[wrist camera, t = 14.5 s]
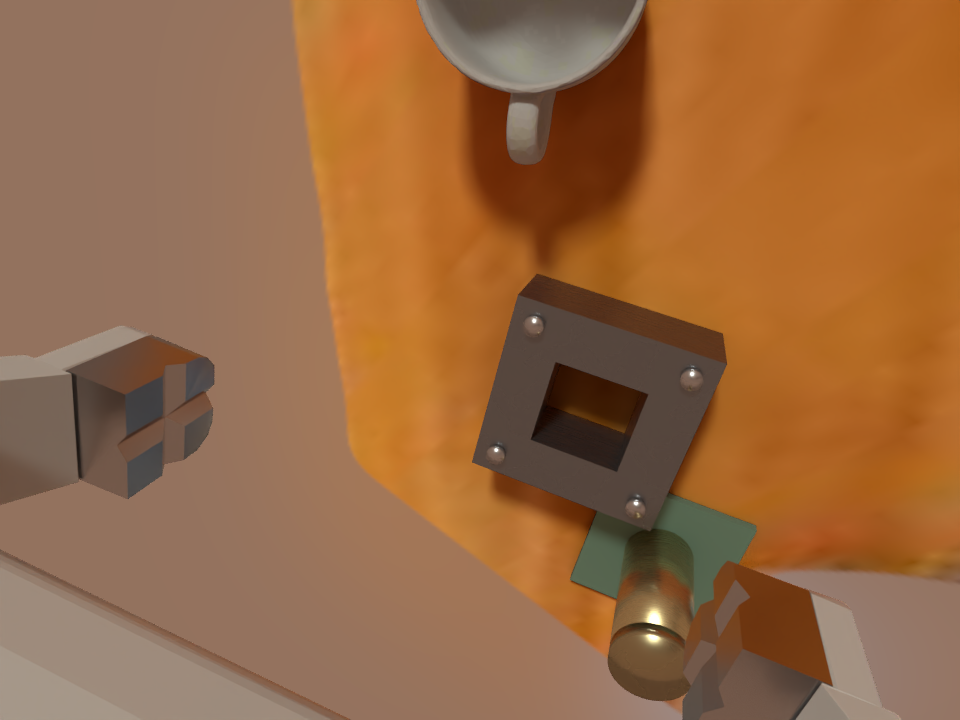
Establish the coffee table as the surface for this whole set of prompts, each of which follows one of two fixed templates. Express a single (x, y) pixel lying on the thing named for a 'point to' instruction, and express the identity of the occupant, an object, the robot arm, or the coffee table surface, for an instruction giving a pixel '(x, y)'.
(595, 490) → the housing
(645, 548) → the plug
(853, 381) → the coffee table surface
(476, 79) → the teacup
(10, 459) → the robot arm
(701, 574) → the coaster
